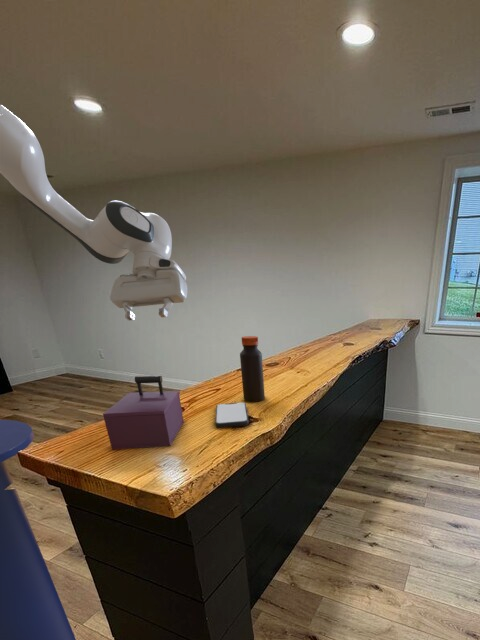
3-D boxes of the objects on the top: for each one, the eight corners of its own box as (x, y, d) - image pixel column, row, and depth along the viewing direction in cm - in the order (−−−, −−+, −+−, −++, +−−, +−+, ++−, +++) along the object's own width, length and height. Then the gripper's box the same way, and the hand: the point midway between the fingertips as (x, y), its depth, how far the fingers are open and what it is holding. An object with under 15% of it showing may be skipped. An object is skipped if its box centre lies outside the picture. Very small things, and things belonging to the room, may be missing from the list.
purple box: (134, 424, 93) (128, 396, 90) (183, 422, 95) (179, 394, 92) (111, 449, 79) (103, 417, 76) (170, 446, 81) (164, 414, 78)
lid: (129, 395, 91) (124, 374, 88) (179, 393, 93) (176, 372, 90) (103, 417, 76) (97, 392, 74) (164, 414, 78) (160, 390, 76)
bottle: (268, 398, 116) (265, 336, 108) (256, 403, 110) (251, 339, 102) (252, 395, 119) (247, 335, 111) (239, 400, 113) (233, 337, 105)
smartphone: (249, 426, 93) (246, 406, 107) (249, 420, 92) (245, 401, 106) (215, 429, 91) (216, 409, 105) (214, 423, 90) (215, 403, 104)
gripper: (107, 268, 93) (101, 314, 89) (180, 260, 90) (175, 307, 87) (123, 283, 99) (118, 327, 95) (191, 276, 96) (188, 320, 93)
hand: (146, 317), depth 91 cm, fingers open, 8 cm apart
